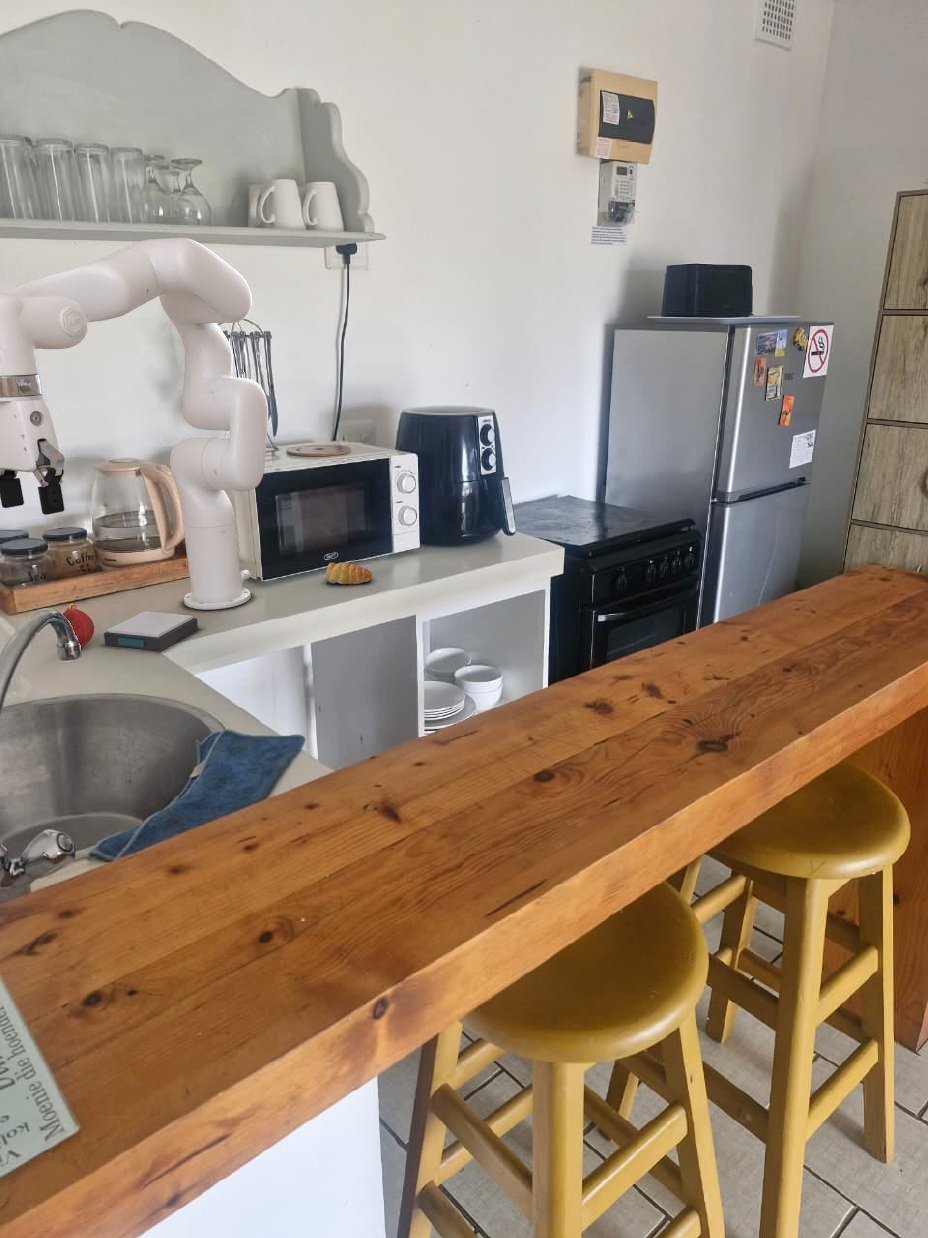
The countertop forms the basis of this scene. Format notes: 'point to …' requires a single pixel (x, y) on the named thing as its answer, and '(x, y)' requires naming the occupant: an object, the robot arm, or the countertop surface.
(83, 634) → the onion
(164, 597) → the countertop surface
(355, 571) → the pastry
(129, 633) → the scale
